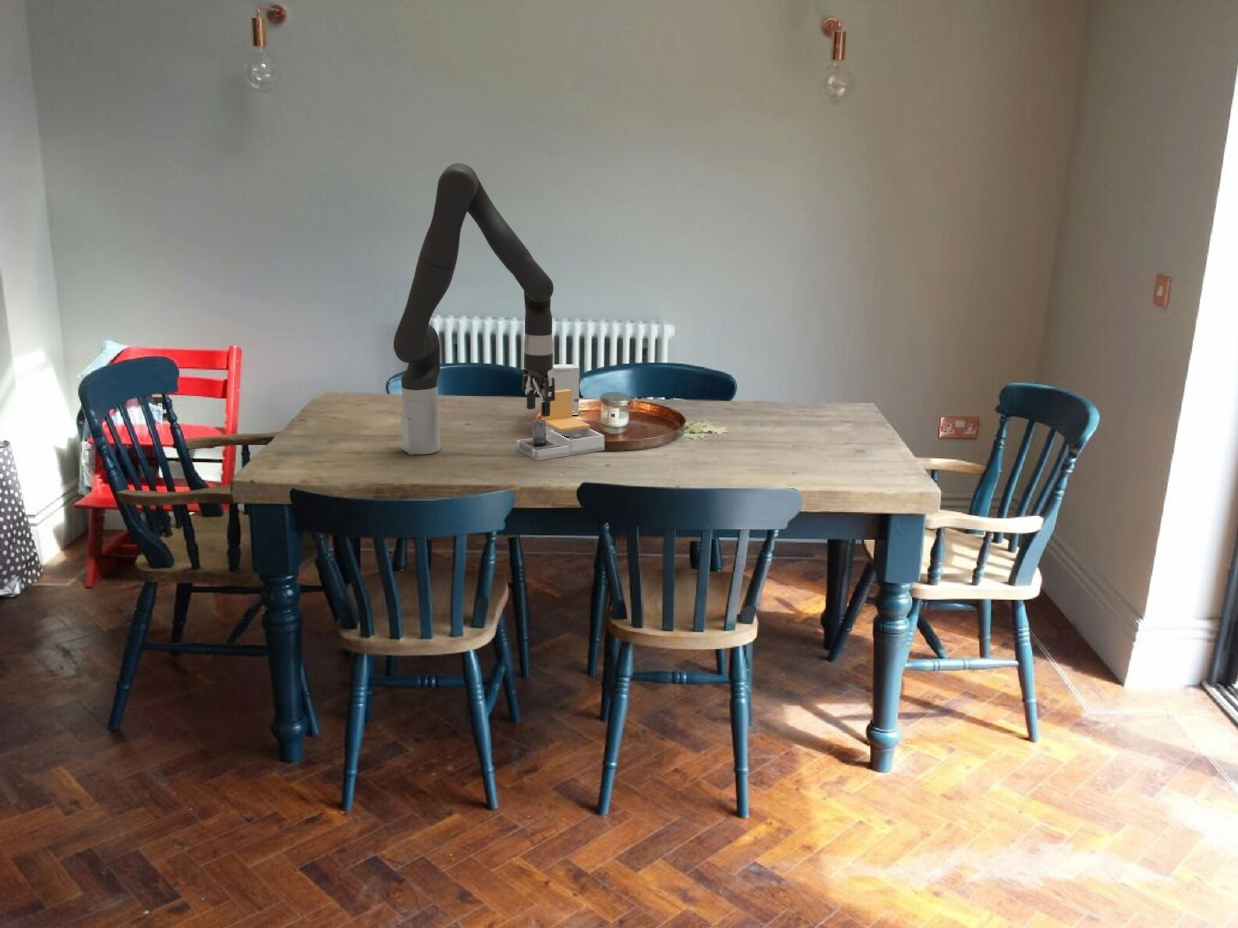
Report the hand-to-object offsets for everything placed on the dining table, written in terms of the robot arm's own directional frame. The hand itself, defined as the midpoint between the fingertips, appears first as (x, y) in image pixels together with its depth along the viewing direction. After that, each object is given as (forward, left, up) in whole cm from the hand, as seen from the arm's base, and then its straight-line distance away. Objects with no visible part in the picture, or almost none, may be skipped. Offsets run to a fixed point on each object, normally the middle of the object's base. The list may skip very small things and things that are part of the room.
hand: (538, 412), depth 294 cm
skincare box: (+24, +33, -11) cm, 42 cm away
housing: (+6, +3, -11) cm, 13 cm away
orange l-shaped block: (+11, +7, -6) cm, 15 cm away
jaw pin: (0, -1, -10) cm, 10 cm away
